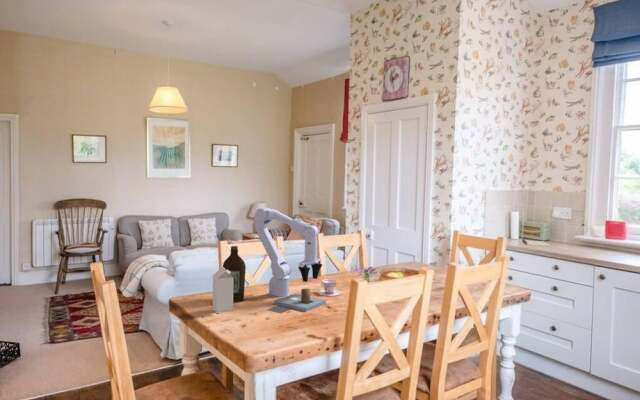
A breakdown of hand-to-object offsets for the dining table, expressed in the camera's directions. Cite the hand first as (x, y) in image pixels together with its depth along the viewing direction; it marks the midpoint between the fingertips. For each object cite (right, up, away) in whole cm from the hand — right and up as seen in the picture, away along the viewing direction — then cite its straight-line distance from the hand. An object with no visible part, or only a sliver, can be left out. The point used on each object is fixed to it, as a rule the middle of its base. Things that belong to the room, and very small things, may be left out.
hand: (310, 280), depth 207 cm
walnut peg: (-2, -10, -10) cm, 15 cm away
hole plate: (-4, -10, -9) cm, 14 cm away
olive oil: (-36, -9, -1) cm, 37 cm away
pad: (-13, -10, -17) cm, 24 cm away
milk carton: (-37, -10, -19) cm, 43 cm away
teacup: (+9, -9, +14) cm, 19 cm away
